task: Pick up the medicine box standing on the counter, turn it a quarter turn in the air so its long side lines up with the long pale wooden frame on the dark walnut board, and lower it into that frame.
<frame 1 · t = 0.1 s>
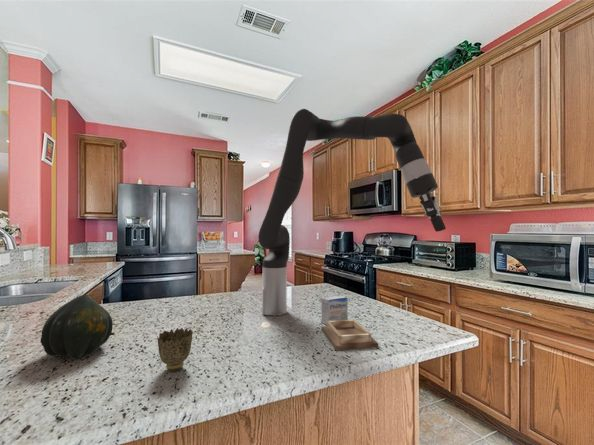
hand: (441, 230, 79), 31 cm above the countertop, fingers open, 8 cm apart
medicine box: (334, 323, 96), on the countertop
holder: (347, 337, 83), on the countertop
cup: (175, 369, 65), on the countertop
squash: (77, 353, 73), on the countertop
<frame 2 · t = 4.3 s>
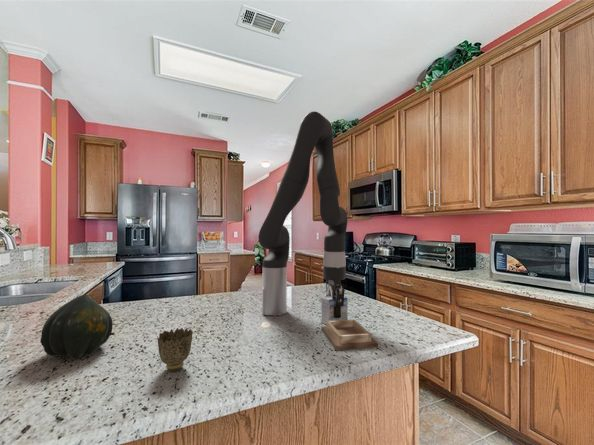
hand: (334, 314, 96), 3 cm above the countertop, fingers closed on medicine box, 5 cm apart
medicine box: (334, 323, 96), on the countertop, touching gripper
everything else where it was.
when the fingers open (5 cm above the countertop, at t = 10.7 s): medicine box stays where it is, resting on holder.
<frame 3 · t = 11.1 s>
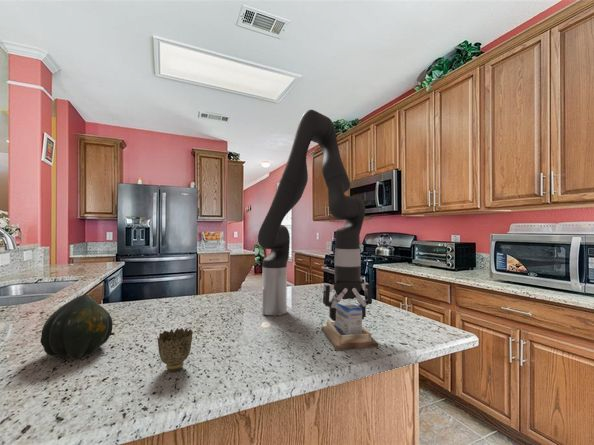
hand: (347, 319, 83), 5 cm above the countertop, fingers open, 8 cm apart
medicine box: (347, 334, 83), point 1 cm above the countertop, touching holder
everything else where it was.
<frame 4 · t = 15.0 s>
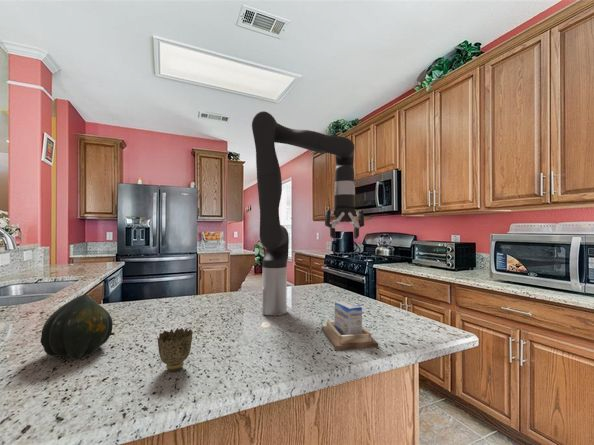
hand: (344, 238, 104), 28 cm above the countertop, fingers open, 8 cm apart
nothing on the countertop moved.
at the end: medicine box 0.1 cm off-centre on the holder, point 0.8 cm above the holder's base; medicine box tilted 0°; the gripper is holding nothing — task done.
